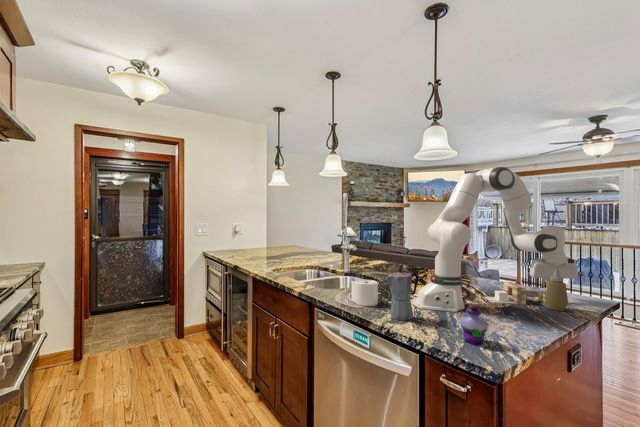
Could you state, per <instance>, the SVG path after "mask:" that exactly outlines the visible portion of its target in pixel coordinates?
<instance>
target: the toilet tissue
mask: <svg viewBox="0 0 640 427" xmlns="http://www.w3.org/2000/svg"><path fill="white" fill-rule="evenodd" d="M378 283H379V282H377V280H372V279H358V280H355V281H353V280H351V293H350V294H351V298H350V299H351V300H352V302H354V303H355V304H356V305H357V306H361V307H375V306H377V305H378V299H379V298H378V296H379V295H378V293H379V290H378V288H379V284H378Z"/></svg>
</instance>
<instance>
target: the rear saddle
mask: <svg viewBox="0 0 640 427" xmlns="http://www.w3.org/2000/svg"><path fill="white" fill-rule="evenodd" d="M545 298H546V294H543V297H534V300H535V301H537V302H539V303H542V304H545V305H547V303H546V300H545Z"/></svg>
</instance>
